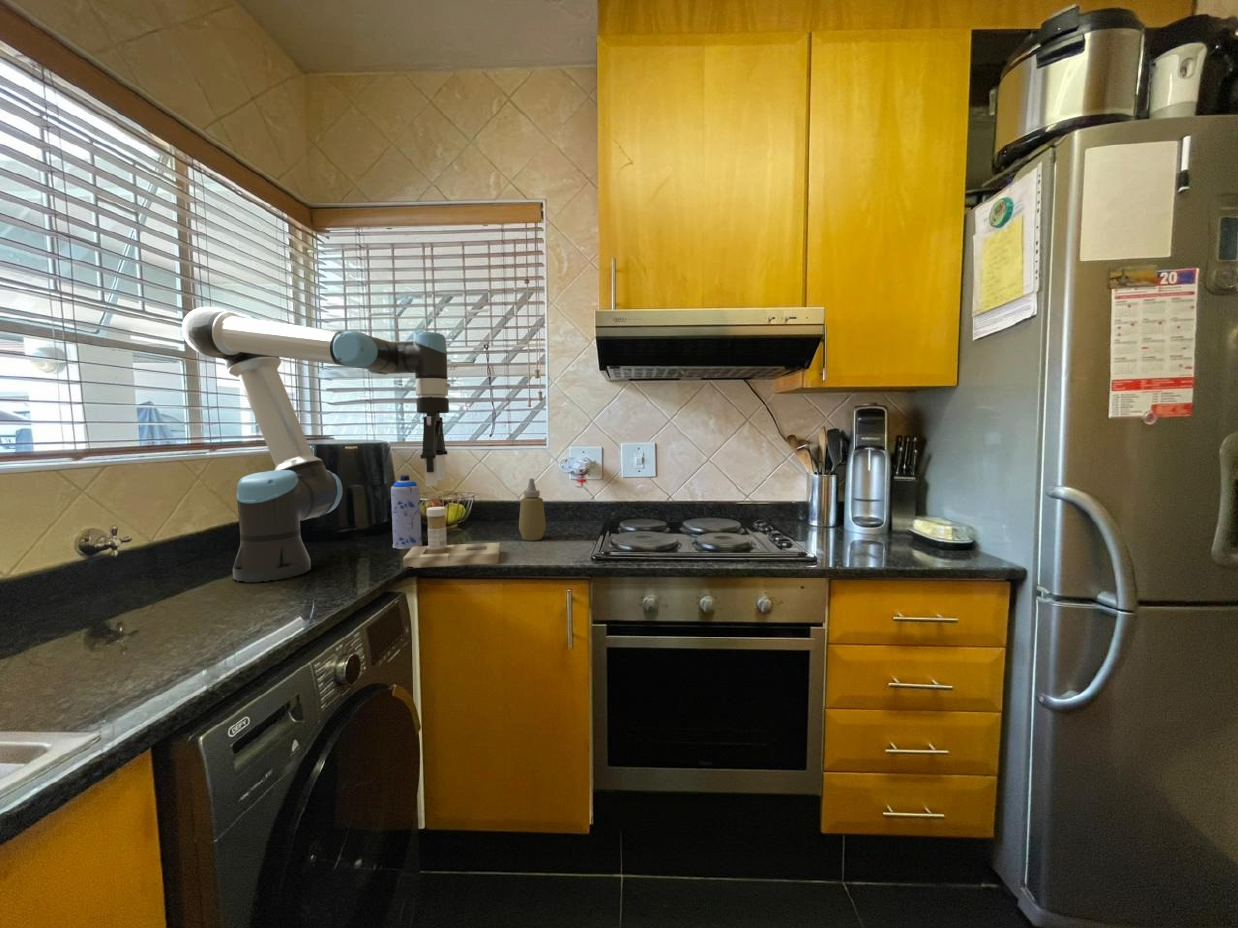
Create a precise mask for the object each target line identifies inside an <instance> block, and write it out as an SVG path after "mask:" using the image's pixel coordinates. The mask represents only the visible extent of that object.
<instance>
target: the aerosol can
mask: <svg viewBox="0 0 1238 928" xmlns="http://www.w3.org/2000/svg"><path fill="white" fill-rule="evenodd" d="M419 486H420V485H418V484H417V482H415V481H414V480H412V479H410V475H409V474H407V475H405V474H403V475H401V474H400V480H397V481H396V482H394V483H393V485H392V486H391V487H390V498H391V499H390V501H391V518H392V519H391V520H392V521H391V522H392V523H391V524H392V525H391V526H392V543H393V544H392V548H393V549H395V548H396V549H397V550H407V549H409V550H410V549H411V548H412V547H417V546H423V542H422V524H421V523H422V521H421V519H422V517H421V496H420V493H421V492H420V487H419Z"/></svg>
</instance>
